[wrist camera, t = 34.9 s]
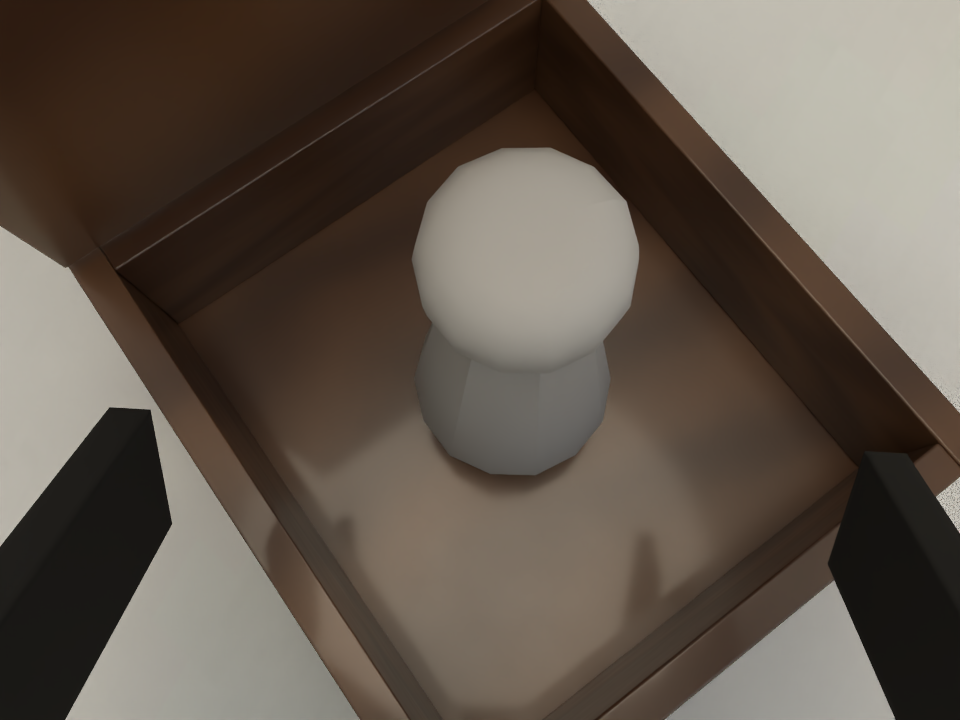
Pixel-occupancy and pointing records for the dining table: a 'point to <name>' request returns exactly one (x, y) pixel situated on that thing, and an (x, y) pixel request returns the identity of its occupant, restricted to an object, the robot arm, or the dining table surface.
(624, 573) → the wooden box
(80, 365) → the dining table surface
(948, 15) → the dining table surface
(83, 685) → the robot arm
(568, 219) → the salt shaker
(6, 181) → the lid
